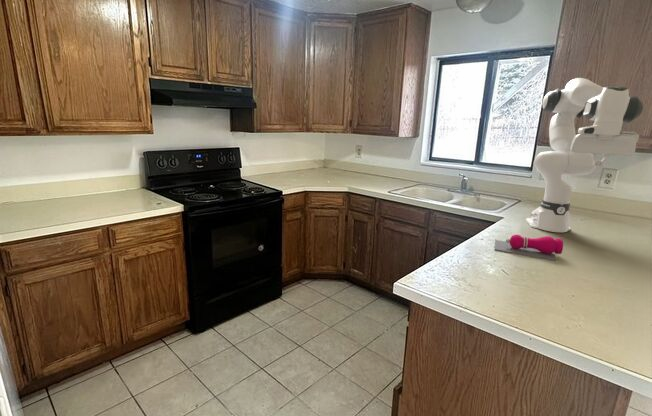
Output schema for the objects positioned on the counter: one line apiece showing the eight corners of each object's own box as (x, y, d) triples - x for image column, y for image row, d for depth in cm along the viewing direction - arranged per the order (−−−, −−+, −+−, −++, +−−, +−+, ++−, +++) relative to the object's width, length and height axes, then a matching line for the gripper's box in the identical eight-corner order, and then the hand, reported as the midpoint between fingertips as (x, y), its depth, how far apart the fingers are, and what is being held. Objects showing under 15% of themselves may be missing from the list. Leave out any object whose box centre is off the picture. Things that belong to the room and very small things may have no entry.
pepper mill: (557, 251, 145) (504, 245, 152) (560, 235, 143) (505, 229, 150) (561, 258, 139) (505, 251, 146) (564, 241, 137) (507, 235, 144)
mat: (552, 250, 148) (552, 249, 148) (556, 261, 137) (556, 260, 137) (495, 241, 157) (495, 239, 157) (494, 250, 146) (494, 249, 146)
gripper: (637, 131, 134) (628, 167, 138) (573, 128, 143) (566, 162, 146) (643, 132, 128) (633, 169, 132) (576, 129, 137) (568, 164, 141)
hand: (597, 165), depth 139 cm, fingers closed
